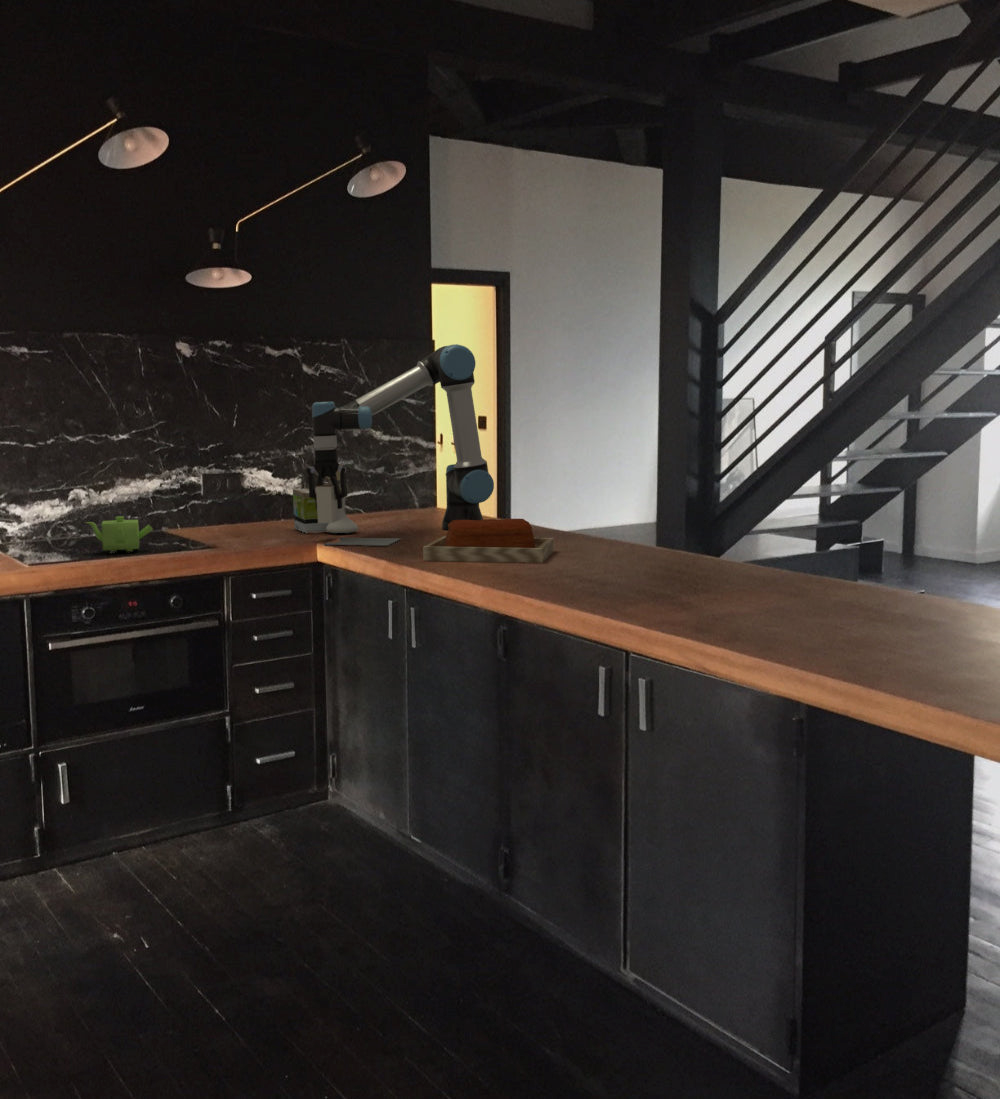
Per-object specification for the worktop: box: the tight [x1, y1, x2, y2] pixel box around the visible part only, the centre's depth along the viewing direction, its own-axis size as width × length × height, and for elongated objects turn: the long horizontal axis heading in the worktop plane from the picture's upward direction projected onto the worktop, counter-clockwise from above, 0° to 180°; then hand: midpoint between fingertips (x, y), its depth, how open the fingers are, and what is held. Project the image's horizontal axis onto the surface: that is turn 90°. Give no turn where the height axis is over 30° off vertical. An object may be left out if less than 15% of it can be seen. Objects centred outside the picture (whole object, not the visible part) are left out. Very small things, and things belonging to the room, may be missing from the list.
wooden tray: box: [422, 536, 555, 564], centre depth 342 cm, size 35×24×5 cm
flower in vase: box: [325, 463, 359, 534], centre depth 398 cm, size 13×11×25 cm
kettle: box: [84, 515, 154, 552], centre depth 357 cm, size 15×14×11 cm
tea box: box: [292, 487, 329, 533], centre depth 406 cm, size 15×10×15 cm
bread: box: [445, 518, 535, 548], centre depth 341 cm, size 16×27×11 cm, turn 98°
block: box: [315, 483, 341, 523], centre depth 380 cm, size 5×9×12 cm, turn 169°
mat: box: [323, 537, 402, 547], centre depth 373 cm, size 21×16×1 cm
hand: (329, 518), depth 381 cm, fingers closed on block, 5 cm apart
